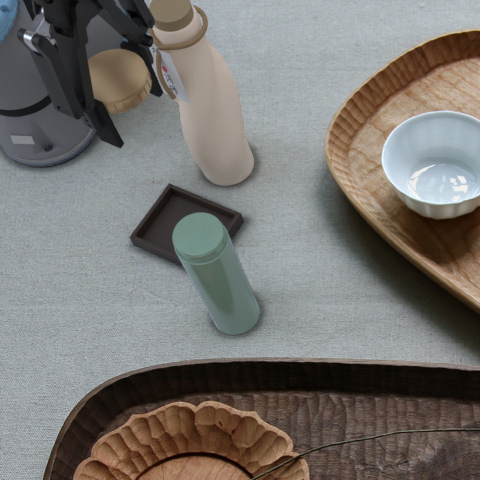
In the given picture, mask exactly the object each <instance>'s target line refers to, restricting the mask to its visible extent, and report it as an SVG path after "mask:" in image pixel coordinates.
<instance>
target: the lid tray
mask: <svg viewBox="0 0 480 480" xmlns="http://www.w3.org/2000/svg"><path fill="white" fill-rule="evenodd" d="M200 212H202V213H208V214H211V215H213V216H215V217H216V218H218V220H219V221H220V222H221V223H222V224H223V225H224V226H225V228H226V229H227V231H228V234H229V236H230V238H231V241H233V239H234V237H235V236H236V234H237V233H238V231H239V230H240V229H241V227H242V226H243V224H244V223H245V220H244V216H243V214H242V213H241V212H239V211H237V210H234V209H232V208H229V207H227V206H226V205H223V204H220V203H218V202H215V201H213V200H210V199H208V198H205V197H203V196H201V195H199V194H197V193H193V192H192V191H189V190H187V189H184V188H182V187H180V186H177V185H174V184H172V183H168V184H167V185H166V186H165V188H164V190H163V191H162V192H161V193H160V195H159V196H158V197H157V199H156V200H155V202H154V203H153V204H152V206H151V207H150V208H149V209H148V211H147V212H146V214H144V216H143V218H142V219H141V221H140V222H139V223H138V225H136V227H135V229H134V230H133V231H132V232H131V234H130V235H129V237H128V238H129V239H130V241H131V243H132V244H133V246H135V247H137V248H139V249H142V250H144V251H146V252H148V253H150V254H153V255H155V256H157V257H159V258H162V259H164V260H166V261H169V262H171V263H173V264H175V265H178V266H180V267H182V268H184V267H183V265H182V263H181V261H180V260H179V258H178V256H177V254H176V252H175V249H174V245H173V240H172V237H173V231H174V228H175V226H176V225H177V223H178V222H179V221H180V220H181V219H183V218H184V217H186V216H188V215H190V214H193V213H200Z"/></svg>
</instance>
